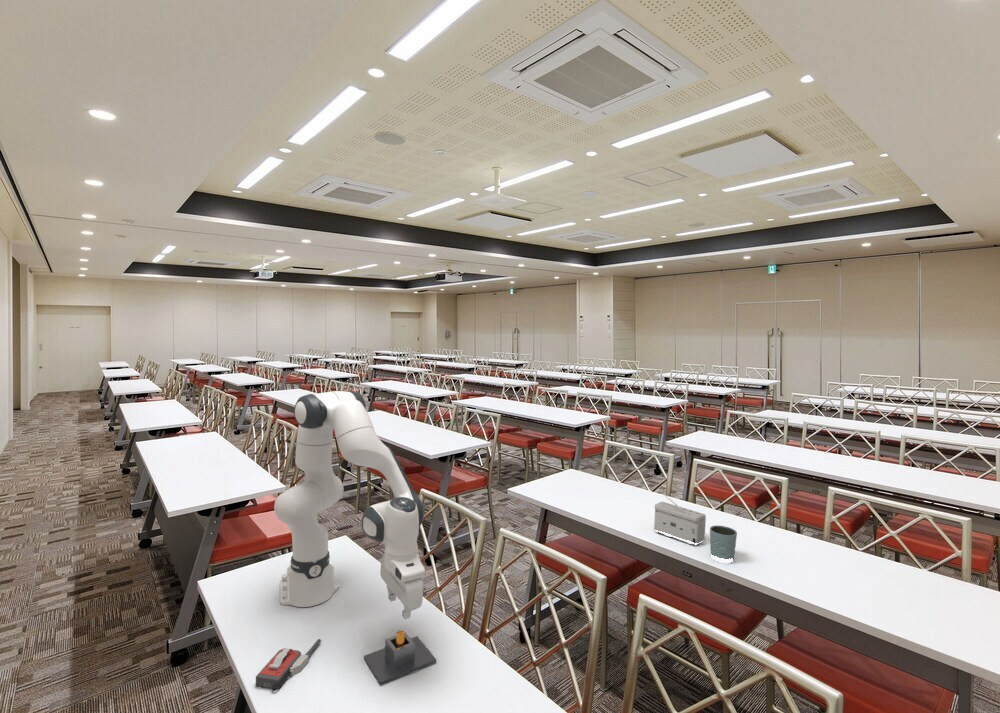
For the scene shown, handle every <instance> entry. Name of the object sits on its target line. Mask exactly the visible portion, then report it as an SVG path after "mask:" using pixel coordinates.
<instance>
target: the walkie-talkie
mask: <svg viewBox="0 0 1000 713" xmlns="http://www.w3.org/2000/svg"><path fill="white" fill-rule="evenodd" d="M321 641H322V640H321V638H317V640H316V641H315V642H314V643H313V645H312V646H311V647H310V648H309V650H308V651H307V652H306V653H305V654H302V651H300V650H295V649H293V648H287V647H283V648H282V649H279V650H278V651H277V652H276V653H275V655H273V657H271V659H270V660H269V661H268V663H266V665H265V666H263V668H262V669H261V670H260V671H259V672H258V673H257V675H256V676H255V687H256V686H257V687H256V688H258V687H261V688H260V689H265V690H266V689H267V690H271V691H273V692H274V691H278V689H279V690H280V688H281V687H282V686H283V684H284V683H285V682H286V680H288V678H289V677H290V676H291V677H294V676H295V675H297V674H299V673H301V671H302V670H303V669H304V667H305V666H306V665H307V664H308V663H309V660H310V656H311V655H312V654H313V652H314V651H315V649H316V648H317V647H318V645H319V644H320V643H321Z"/></svg>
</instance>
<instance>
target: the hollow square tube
mask: <svg viewBox="0 0 1000 713" xmlns="http://www.w3.org/2000/svg"><path fill="white" fill-rule="evenodd" d="M411 638H412V637H410V636H409V634H408V633H407V632H405V631H404V645H403V646H401V647H398V648H396V635H395V636H391V637H389V638H385V641H384V642H385V643H384V644H385V645H384V648H385V656H386V657H387V659H388V660H389V662H390V663H391V665H392V666H393V668H395V667H397V666H400V665H403V664H405V663H408V662H410V661H413V660H415V643H414V642H413V641H412V640H411Z"/></svg>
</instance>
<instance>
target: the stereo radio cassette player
mask: <svg viewBox="0 0 1000 713" xmlns="http://www.w3.org/2000/svg"><path fill="white" fill-rule="evenodd" d="M658 492H660V493H661V494H662V495H663V496H664V497H666V499H668V500H669V501H670V502H672V503H669V502H665V501H660V502H657V503H656V504H654V521H653V522H654V523H653V524H654V525H653V530H654V529H655V530H658V531H662V532H665V533H668V534H671V535H673V536H676V537H679V538H682V539H685V540H689V541H691V542H694V543H699V542H701V541H703V540H704V541H705V536H706V522H707V521H706V520H707V519H706V517H707V516H706V514H705V513H702V512H700V511H699V512H698V511H696V510H692V509H689V508H686V507H682V506H679V505H678V504H677V503H676V502H674V501H673V500H672V499H670V498H669V497H668V496H667V495H665V494H664V493H663V492H661V490H660V489H659V490H658ZM655 530H654V531H655ZM704 541H703V542H704Z"/></svg>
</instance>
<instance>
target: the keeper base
mask: <svg viewBox="0 0 1000 713" xmlns="http://www.w3.org/2000/svg"><path fill="white" fill-rule="evenodd" d="M404 633H405V631H404V630H397V631H396V634H395V636H396V648H398V647H401V646H403V645H404ZM410 638H411V640H412V641H413V642H414V643H415V660H413V661H410V662H408V663H405V664H403V665H400V666H397V667H395V668H393V666H392V665H391V663H390V662H389V660H388V659H387V657H386V656H385V647H384V648H381V649H378V650H376V651H373V652H370V653H367V654H365V655H363V660H364V662H365V664H366V666H367V668H369V670H370V672H371V673H372V675H373V677H374V679H375V680H376V682H377V683H378V685H379V686H380V687H382V686H383V685H386V684H389V683H390V682H393V681H396V680H398V679H401V678H404V677H406V676H408V675H410V674H412V673H415V672H418V671H420V670H422V669H425V668H427V667H430V666H432V665H435V664H437V658H436V657H435V655H433V652H431V651H430V650H429V648H428V647H427V646H426V645H425V643H424V642H423V641H422V640H421V639H420V637H419V636H418V635H416V636H414V637H410Z"/></svg>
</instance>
